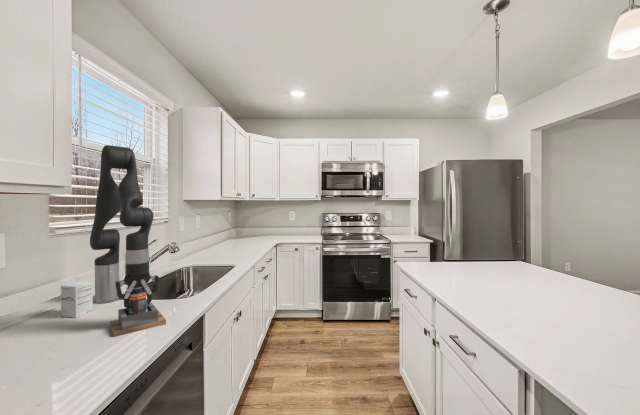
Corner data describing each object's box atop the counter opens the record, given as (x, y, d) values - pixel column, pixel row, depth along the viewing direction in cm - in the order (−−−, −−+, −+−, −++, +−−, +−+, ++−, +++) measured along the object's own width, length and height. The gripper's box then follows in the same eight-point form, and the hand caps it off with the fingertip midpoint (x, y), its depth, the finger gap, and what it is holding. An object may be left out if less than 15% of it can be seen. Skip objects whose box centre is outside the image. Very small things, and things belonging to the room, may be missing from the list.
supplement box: (60, 317, 115) (59, 285, 115) (78, 310, 122) (78, 280, 122) (75, 318, 114) (75, 286, 113) (93, 311, 121) (93, 281, 121)
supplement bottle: (151, 314, 110) (150, 284, 110) (139, 320, 104) (139, 289, 104) (136, 313, 110) (136, 284, 110) (124, 320, 105) (124, 289, 104)
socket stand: (110, 325, 106) (109, 310, 106) (158, 314, 117) (158, 301, 117) (113, 336, 97) (113, 320, 97) (165, 323, 108) (165, 309, 108)
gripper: (156, 257, 114) (157, 299, 115) (112, 262, 105) (113, 307, 105) (161, 260, 109) (161, 304, 109) (115, 265, 99) (115, 313, 100)
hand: (137, 305), depth 107 cm, fingers closed on supplement bottle, 6 cm apart
